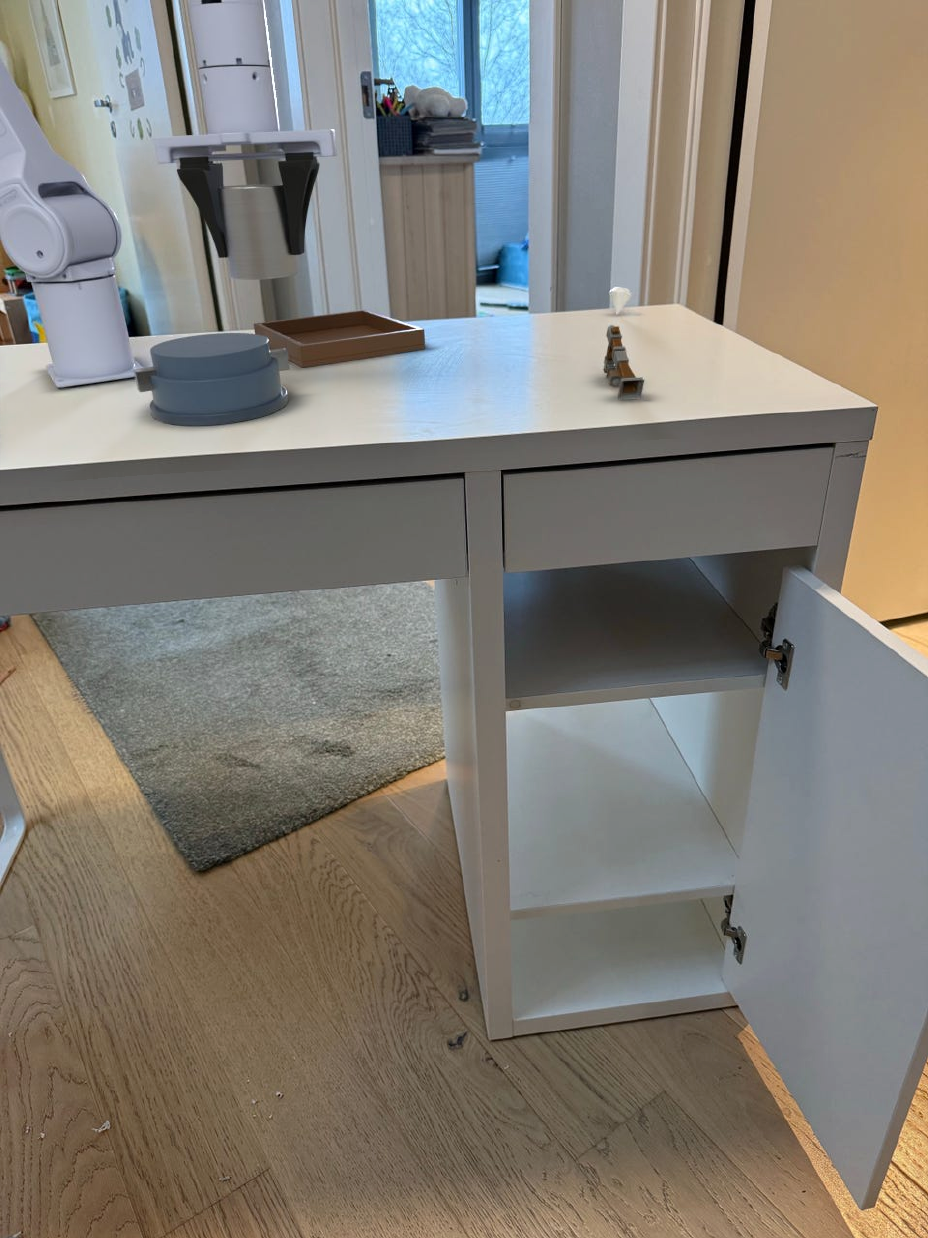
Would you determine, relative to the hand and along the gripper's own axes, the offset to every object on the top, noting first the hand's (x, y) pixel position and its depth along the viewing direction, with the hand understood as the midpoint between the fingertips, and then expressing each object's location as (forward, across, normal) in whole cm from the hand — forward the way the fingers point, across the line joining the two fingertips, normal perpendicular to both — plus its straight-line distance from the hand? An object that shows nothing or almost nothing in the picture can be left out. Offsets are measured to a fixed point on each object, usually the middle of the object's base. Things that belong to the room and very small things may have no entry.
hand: (261, 255), depth 74 cm
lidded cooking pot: (+10, -3, -10) cm, 15 cm away
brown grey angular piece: (+11, +30, -8) cm, 33 cm away
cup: (+2, 0, 0) cm, 2 cm away
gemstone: (+11, +34, +26) cm, 44 cm away
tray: (+10, +3, +13) cm, 17 cm away
